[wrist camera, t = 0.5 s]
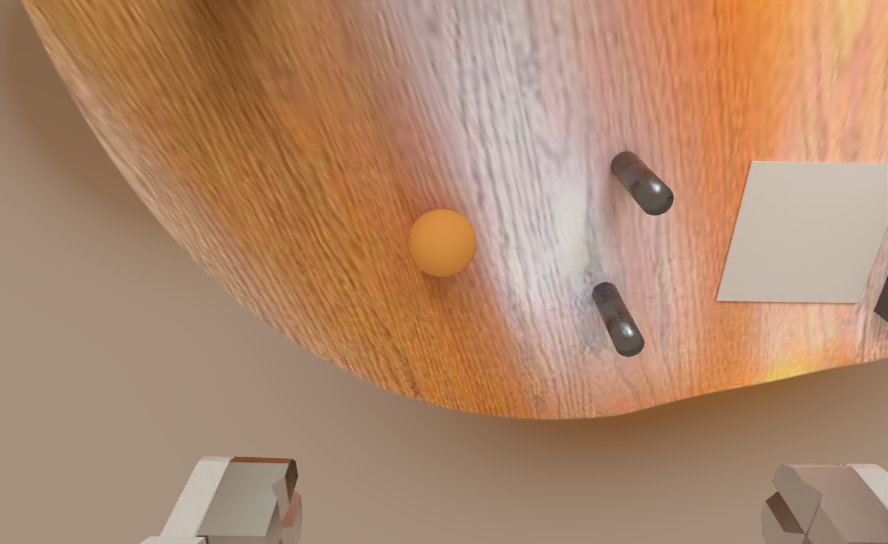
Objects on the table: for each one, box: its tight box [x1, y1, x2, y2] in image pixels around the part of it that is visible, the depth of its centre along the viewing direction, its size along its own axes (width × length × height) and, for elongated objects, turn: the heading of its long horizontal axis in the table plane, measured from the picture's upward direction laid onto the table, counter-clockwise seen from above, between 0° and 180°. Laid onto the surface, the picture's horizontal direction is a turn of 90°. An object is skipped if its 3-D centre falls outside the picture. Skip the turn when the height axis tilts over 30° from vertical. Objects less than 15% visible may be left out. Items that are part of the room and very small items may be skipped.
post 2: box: [592, 282, 644, 357], centre depth 55 cm, size 2×2×9 cm
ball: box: [408, 209, 476, 277], centre depth 53 cm, size 6×6×6 cm
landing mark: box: [716, 161, 888, 303], centre depth 56 cm, size 14×14×1 cm
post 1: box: [611, 152, 674, 215], centre depth 49 cm, size 2×2×9 cm
